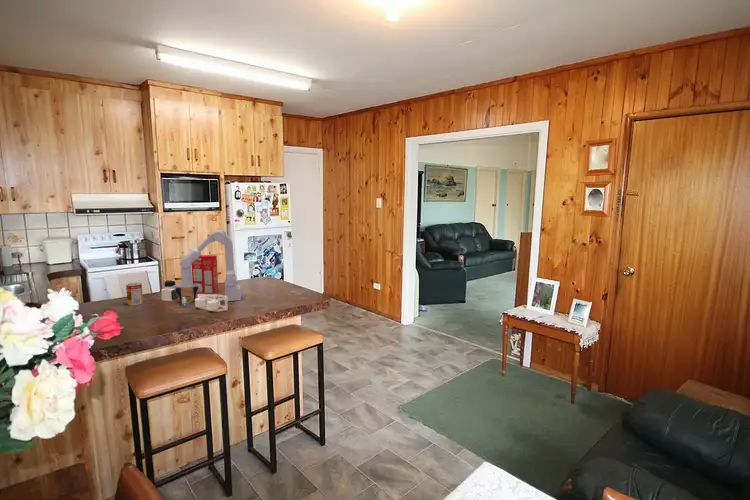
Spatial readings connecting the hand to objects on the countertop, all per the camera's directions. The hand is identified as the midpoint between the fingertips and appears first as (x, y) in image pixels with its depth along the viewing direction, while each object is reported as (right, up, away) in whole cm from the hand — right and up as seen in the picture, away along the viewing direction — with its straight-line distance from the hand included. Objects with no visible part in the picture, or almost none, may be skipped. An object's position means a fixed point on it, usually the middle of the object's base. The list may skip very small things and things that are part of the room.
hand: (187, 299), depth 245 cm
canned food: (-29, -2, -5) cm, 29 cm away
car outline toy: (+20, -4, -13) cm, 24 cm away
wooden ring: (0, -1, 0) cm, 1 cm away
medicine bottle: (-13, -1, +5) cm, 14 cm away
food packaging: (+1, +1, +23) cm, 23 cm away
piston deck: (+2, -3, -9) cm, 9 cm away
